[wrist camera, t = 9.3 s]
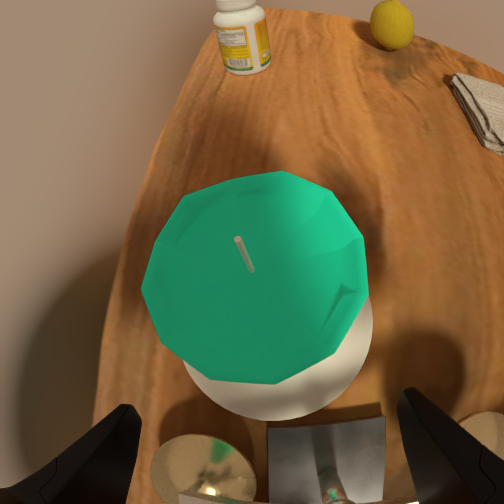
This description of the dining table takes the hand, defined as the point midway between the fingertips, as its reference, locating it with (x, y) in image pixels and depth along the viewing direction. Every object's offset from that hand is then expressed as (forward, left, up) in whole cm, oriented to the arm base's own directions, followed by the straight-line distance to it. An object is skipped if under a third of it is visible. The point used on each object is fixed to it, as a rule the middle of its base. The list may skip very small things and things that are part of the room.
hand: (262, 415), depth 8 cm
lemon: (+35, -17, -9) cm, 40 cm away
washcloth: (+23, -31, -10) cm, 39 cm away
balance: (-6, -3, -9) cm, 11 cm away
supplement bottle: (+32, +1, -9) cm, 34 cm away
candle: (+4, 0, -8) cm, 9 cm away
